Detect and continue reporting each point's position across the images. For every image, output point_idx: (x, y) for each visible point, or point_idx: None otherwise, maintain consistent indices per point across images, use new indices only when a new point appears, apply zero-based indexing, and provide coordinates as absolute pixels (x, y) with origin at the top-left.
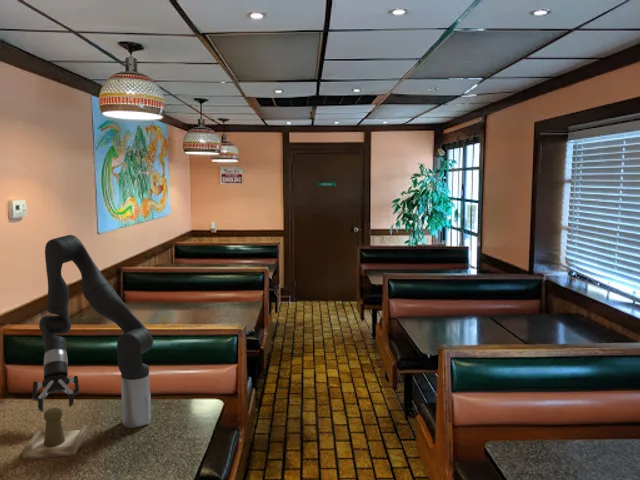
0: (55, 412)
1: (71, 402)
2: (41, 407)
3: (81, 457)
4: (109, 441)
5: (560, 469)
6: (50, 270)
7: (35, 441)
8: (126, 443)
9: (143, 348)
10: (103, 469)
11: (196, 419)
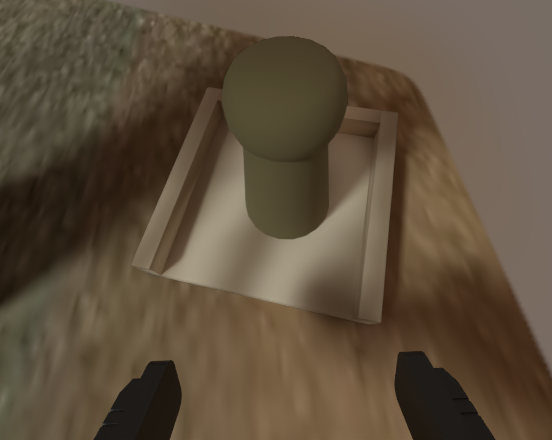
0: (263, 41)
1: (140, 389)
2: (420, 361)
3: (198, 93)
4: (94, 159)
5: None
6: None
7: (367, 211)
8: (50, 128)
9: None
10: (152, 28)
11: None
